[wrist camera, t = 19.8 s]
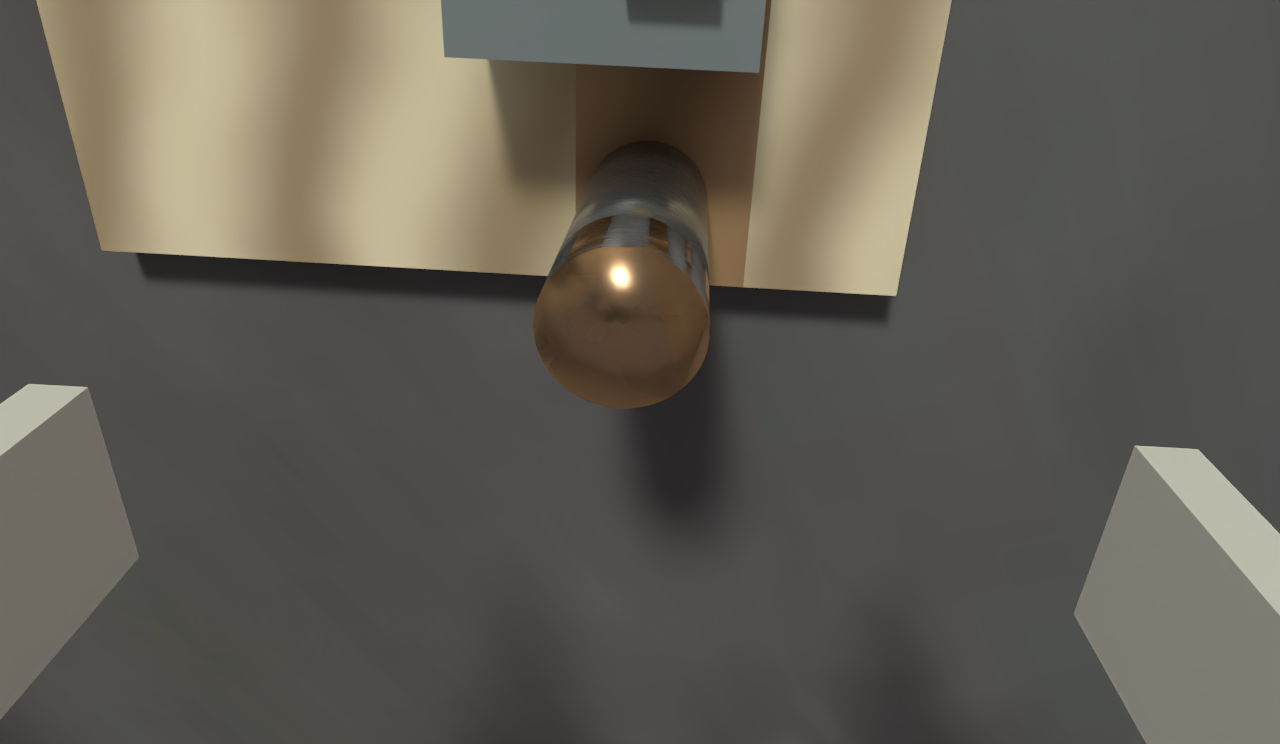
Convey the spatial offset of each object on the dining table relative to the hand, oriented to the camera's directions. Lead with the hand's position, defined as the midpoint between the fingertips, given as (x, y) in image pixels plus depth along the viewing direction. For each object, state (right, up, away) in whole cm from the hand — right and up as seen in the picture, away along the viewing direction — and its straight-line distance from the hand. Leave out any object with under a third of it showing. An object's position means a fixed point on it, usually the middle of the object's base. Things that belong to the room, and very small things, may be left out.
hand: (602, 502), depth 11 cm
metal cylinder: (+1, +7, +13) cm, 15 cm away
